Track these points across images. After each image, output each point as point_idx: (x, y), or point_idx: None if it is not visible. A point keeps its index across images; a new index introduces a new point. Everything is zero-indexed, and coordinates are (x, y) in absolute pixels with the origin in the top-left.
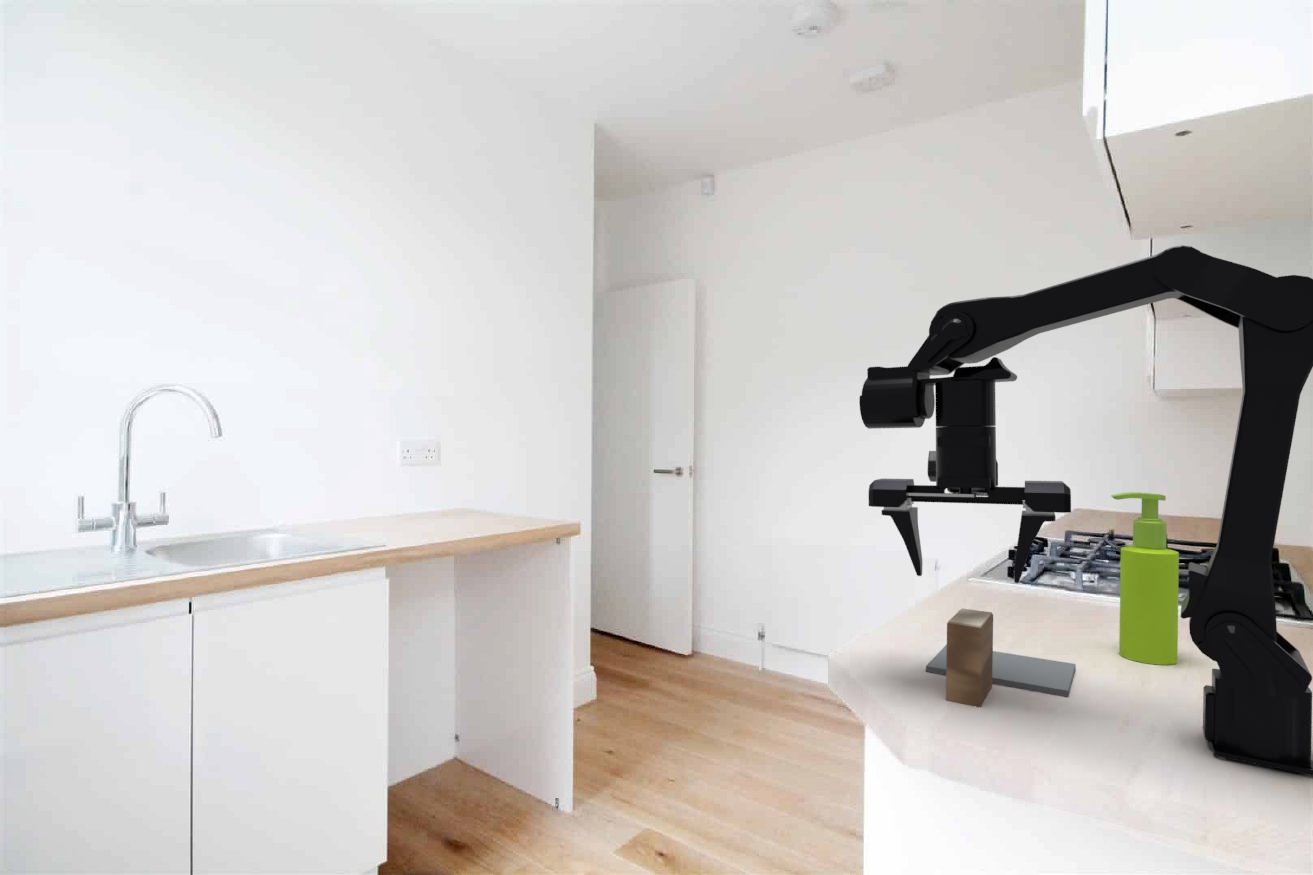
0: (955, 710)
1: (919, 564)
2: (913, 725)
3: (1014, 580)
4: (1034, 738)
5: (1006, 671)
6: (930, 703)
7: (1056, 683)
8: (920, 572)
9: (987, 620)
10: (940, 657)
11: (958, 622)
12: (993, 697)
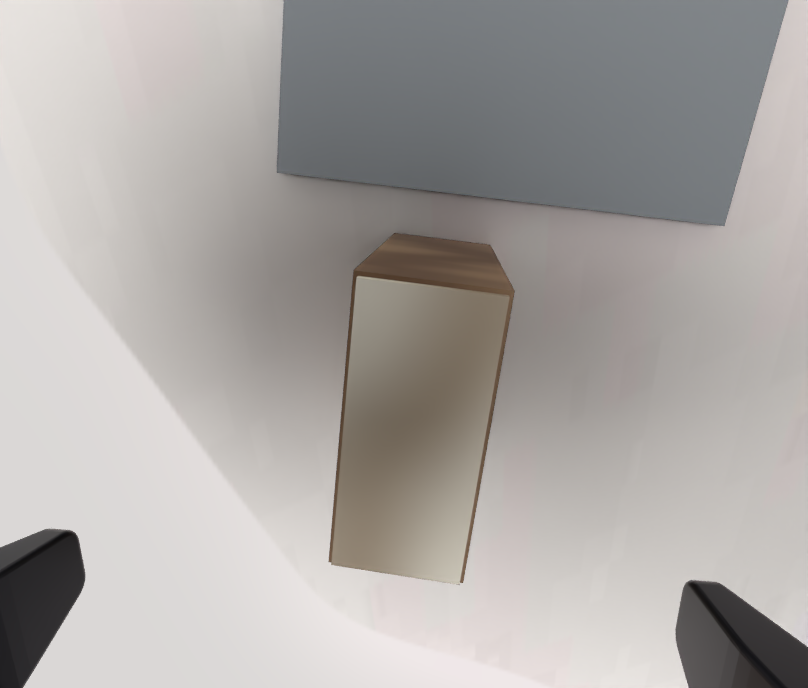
0: None
1: (27, 675)
2: (330, 601)
3: (680, 653)
4: (574, 574)
5: (541, 91)
6: None
7: (701, 156)
8: (70, 605)
9: (485, 443)
10: (304, 22)
11: (371, 569)
12: None
